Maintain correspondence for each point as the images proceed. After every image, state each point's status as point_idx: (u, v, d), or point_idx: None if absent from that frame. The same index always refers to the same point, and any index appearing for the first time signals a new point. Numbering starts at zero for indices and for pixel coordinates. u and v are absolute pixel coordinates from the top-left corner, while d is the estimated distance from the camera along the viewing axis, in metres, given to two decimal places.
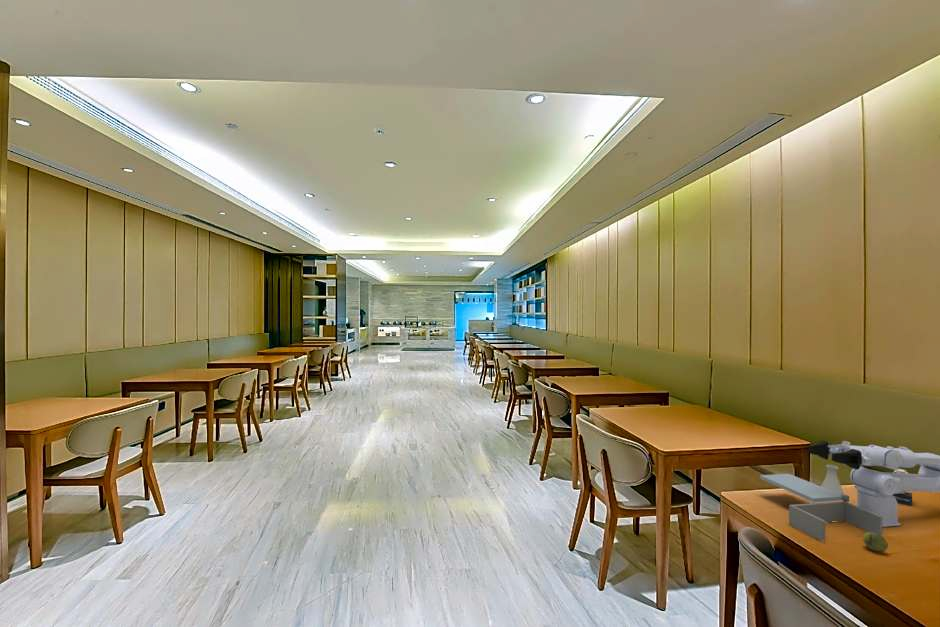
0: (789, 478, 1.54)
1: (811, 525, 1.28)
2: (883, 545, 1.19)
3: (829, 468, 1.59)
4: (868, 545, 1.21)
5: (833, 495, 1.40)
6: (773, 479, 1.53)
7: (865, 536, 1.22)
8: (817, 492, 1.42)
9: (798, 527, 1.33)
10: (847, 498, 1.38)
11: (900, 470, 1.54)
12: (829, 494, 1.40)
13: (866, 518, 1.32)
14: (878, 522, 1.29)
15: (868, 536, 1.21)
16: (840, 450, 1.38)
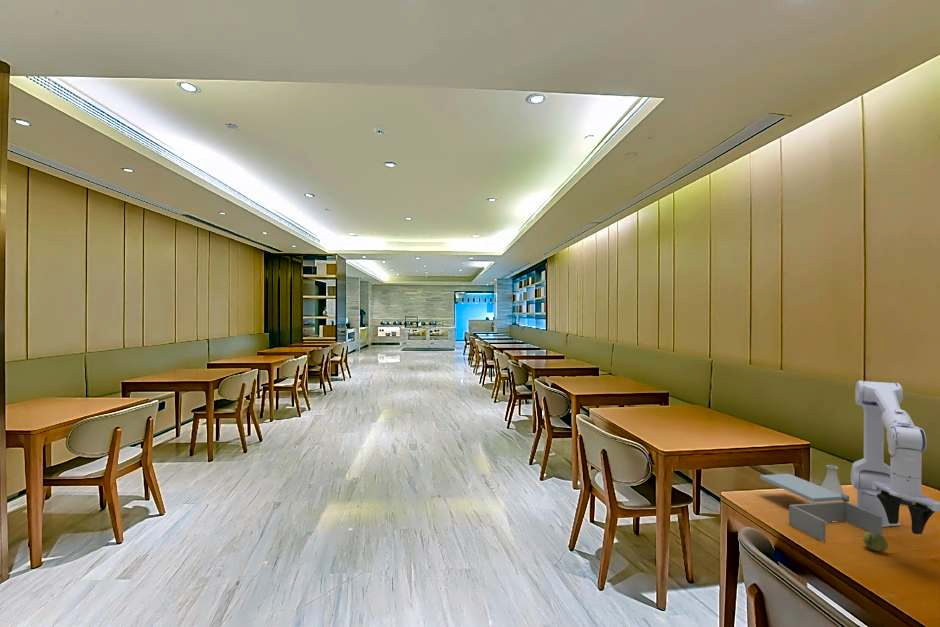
0: (789, 478, 1.54)
1: (811, 525, 1.28)
2: (883, 545, 1.19)
3: (829, 468, 1.59)
4: (868, 545, 1.21)
5: (833, 495, 1.40)
6: (773, 479, 1.53)
7: (865, 536, 1.22)
8: (817, 492, 1.42)
9: (798, 527, 1.33)
10: (847, 498, 1.38)
11: None
12: (829, 494, 1.40)
13: (866, 518, 1.32)
14: (878, 522, 1.29)
15: (868, 536, 1.21)
16: None
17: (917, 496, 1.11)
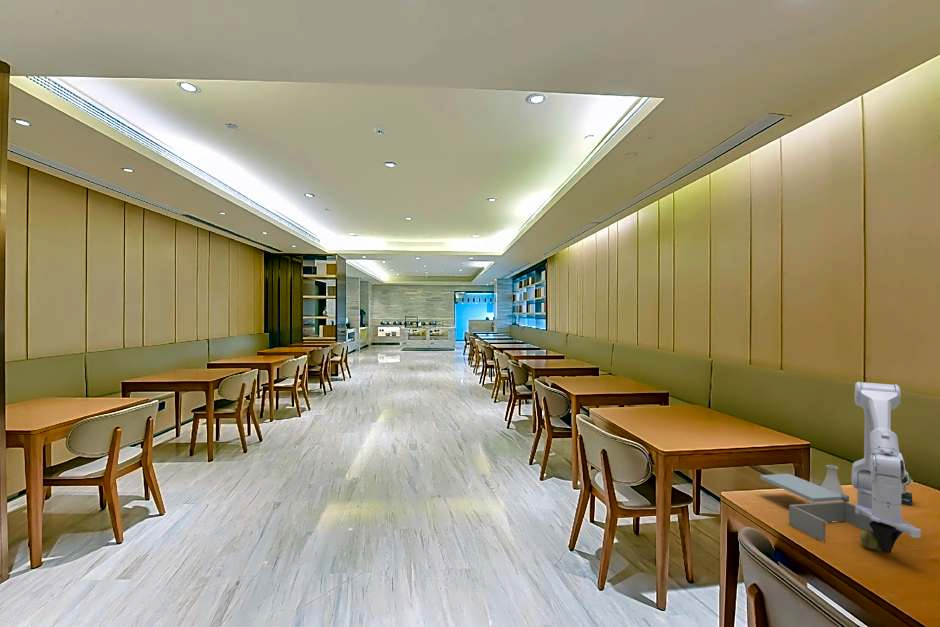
0: (789, 478, 1.54)
1: (811, 525, 1.28)
2: None
3: (829, 468, 1.59)
4: (865, 544, 1.21)
5: (833, 495, 1.40)
6: (773, 479, 1.53)
7: (862, 534, 1.22)
8: (817, 492, 1.42)
9: (798, 527, 1.33)
10: (847, 498, 1.38)
11: None
12: (829, 494, 1.40)
13: (866, 518, 1.32)
14: None
15: (865, 534, 1.22)
16: None
17: (897, 522, 1.15)
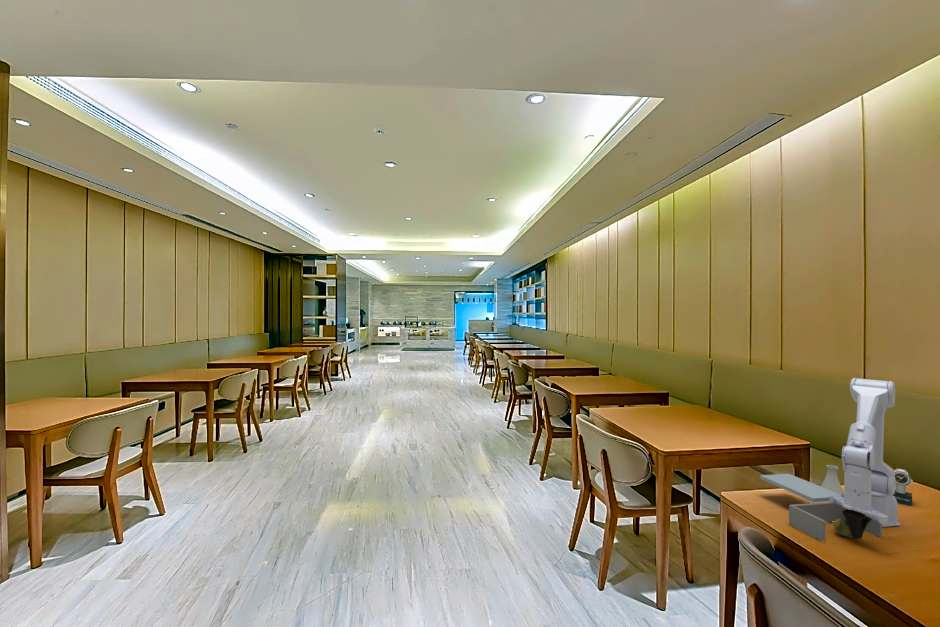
0: (789, 478, 1.54)
1: (811, 525, 1.28)
2: None
3: (829, 468, 1.59)
4: (838, 531, 1.28)
5: None
6: (773, 479, 1.53)
7: (835, 522, 1.29)
8: (817, 492, 1.42)
9: (798, 527, 1.33)
10: None
11: (900, 470, 1.54)
12: (829, 494, 1.40)
13: None
14: (878, 522, 1.29)
15: (838, 522, 1.29)
16: None
17: (867, 509, 1.23)
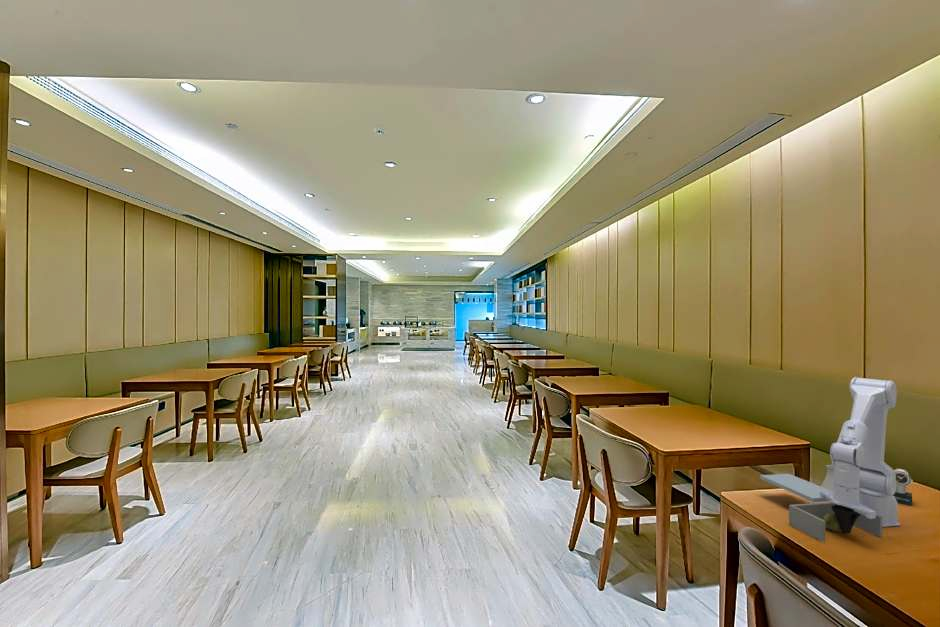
0: (789, 478, 1.54)
1: (811, 525, 1.28)
2: None
3: (829, 468, 1.59)
4: (827, 526, 1.32)
5: None
6: (773, 479, 1.53)
7: (825, 517, 1.33)
8: (817, 492, 1.42)
9: (798, 527, 1.33)
10: None
11: (900, 470, 1.54)
12: None
13: (866, 518, 1.32)
14: (878, 522, 1.29)
15: (827, 517, 1.32)
16: None
17: (855, 504, 1.26)
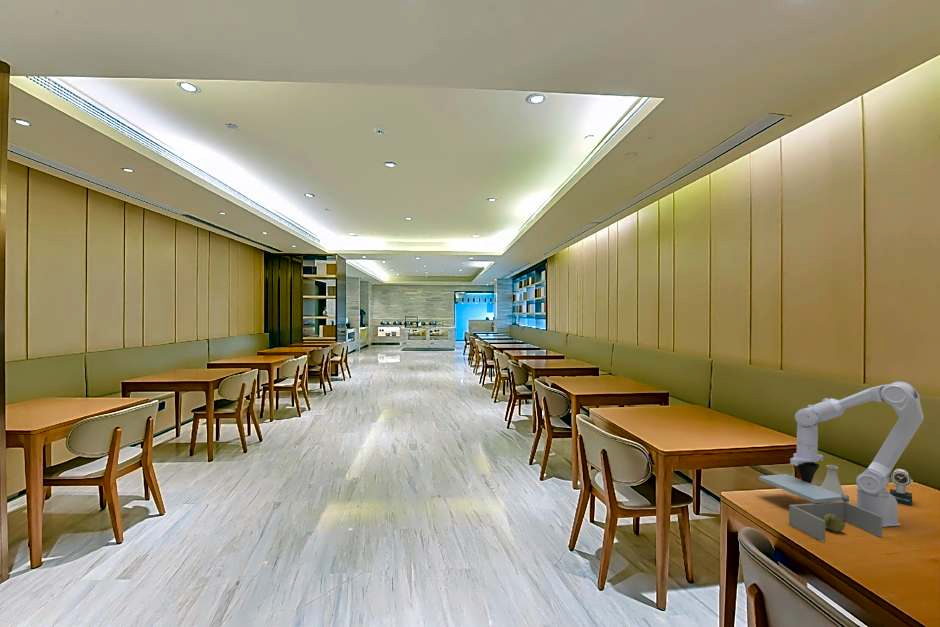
0: (787, 478, 1.54)
1: (811, 525, 1.28)
2: (841, 525, 1.30)
3: (829, 468, 1.59)
4: (827, 526, 1.32)
5: (834, 495, 1.39)
6: (772, 480, 1.52)
7: (825, 518, 1.33)
8: (817, 492, 1.42)
9: (798, 527, 1.33)
10: (847, 498, 1.38)
11: (900, 470, 1.54)
12: (829, 494, 1.40)
13: (866, 518, 1.32)
14: (878, 522, 1.29)
15: (827, 518, 1.32)
16: None
17: (800, 457, 1.51)
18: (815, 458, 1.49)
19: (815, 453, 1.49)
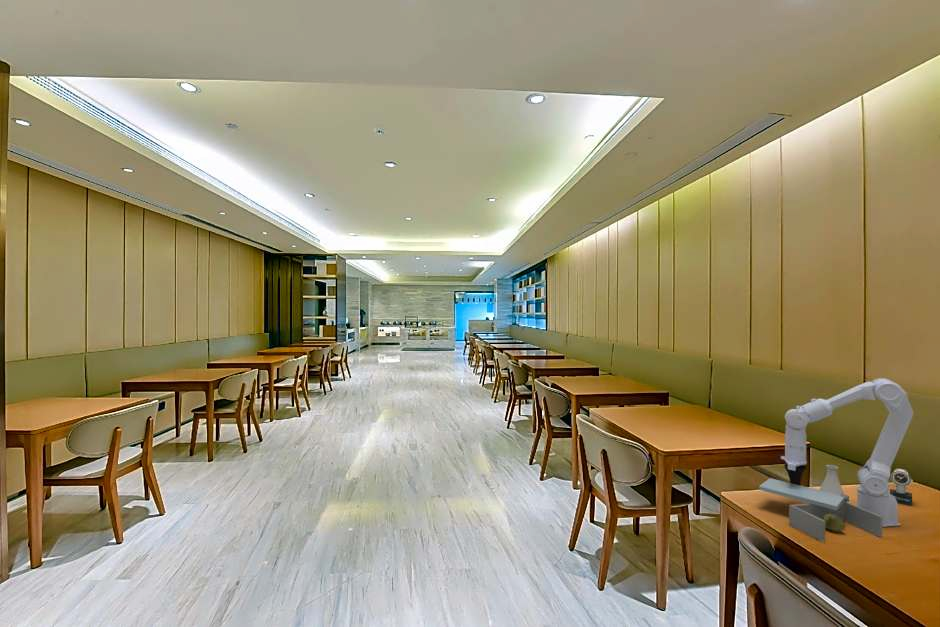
0: (780, 484, 1.49)
1: (811, 525, 1.28)
2: (841, 525, 1.30)
3: (829, 468, 1.59)
4: (827, 526, 1.32)
5: (839, 497, 1.38)
6: (775, 489, 1.44)
7: (825, 518, 1.33)
8: (825, 497, 1.38)
9: (798, 527, 1.33)
10: (848, 498, 1.38)
11: (900, 470, 1.54)
12: (834, 497, 1.38)
13: (866, 518, 1.32)
14: (878, 522, 1.29)
15: (827, 518, 1.32)
16: None
17: (792, 460, 1.48)
18: (805, 460, 1.47)
19: (805, 455, 1.47)
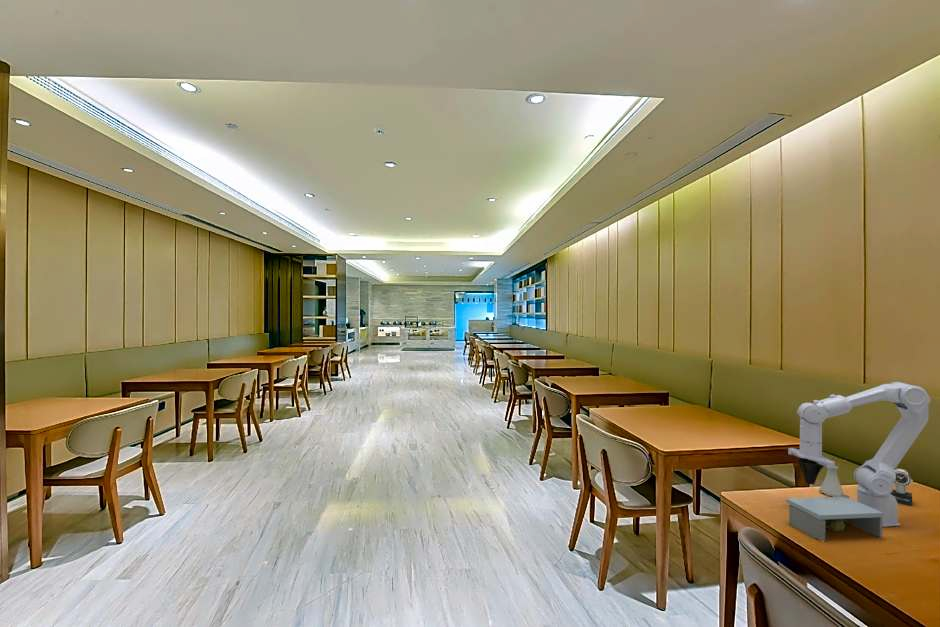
0: (808, 503, 1.34)
1: (811, 525, 1.28)
2: (841, 525, 1.30)
3: (829, 468, 1.59)
4: (827, 526, 1.32)
5: (851, 500, 1.36)
6: (830, 513, 1.27)
7: None
8: (851, 504, 1.33)
9: (798, 527, 1.33)
10: None
11: (900, 470, 1.54)
12: (850, 501, 1.35)
13: (866, 518, 1.32)
14: (878, 522, 1.29)
15: None
16: None
17: (818, 457, 1.41)
18: None
19: None
